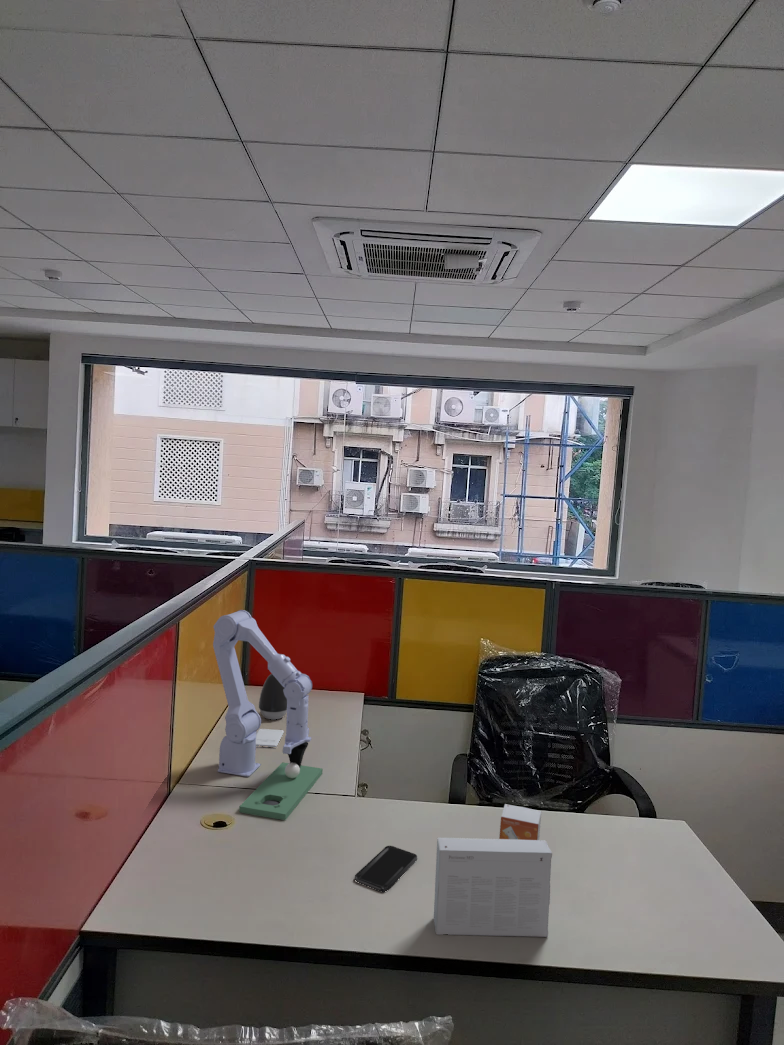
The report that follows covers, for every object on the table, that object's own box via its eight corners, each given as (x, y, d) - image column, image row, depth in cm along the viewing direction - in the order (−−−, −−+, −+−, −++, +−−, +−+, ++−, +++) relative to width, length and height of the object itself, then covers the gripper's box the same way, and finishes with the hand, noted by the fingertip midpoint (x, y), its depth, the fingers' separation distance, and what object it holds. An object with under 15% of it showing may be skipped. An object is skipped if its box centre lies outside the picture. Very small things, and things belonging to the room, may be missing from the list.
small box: (496, 875, 142) (500, 816, 141) (500, 859, 148) (504, 802, 147) (534, 884, 140) (539, 823, 139) (537, 867, 146) (541, 810, 145)
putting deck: (239, 812, 163) (239, 806, 163) (282, 767, 189) (282, 762, 189) (285, 820, 160) (285, 814, 160) (322, 773, 186) (322, 768, 186)
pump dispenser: (290, 722, 224) (291, 677, 223) (258, 722, 222) (260, 678, 221) (288, 711, 234) (290, 669, 233) (257, 712, 232) (259, 669, 231)
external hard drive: (284, 735, 215) (276, 750, 202) (258, 733, 215) (249, 748, 202) (284, 730, 214) (276, 745, 202) (258, 728, 215) (249, 743, 202)
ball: (282, 779, 179) (282, 767, 178) (288, 770, 183) (288, 758, 181) (296, 782, 178) (296, 770, 177) (302, 773, 182) (302, 760, 180)
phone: (352, 877, 138) (388, 844, 151) (352, 882, 138) (387, 849, 151) (385, 890, 134) (419, 855, 147) (385, 895, 134) (419, 860, 147)
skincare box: (541, 919, 129) (546, 839, 128) (548, 938, 123) (554, 855, 122) (432, 915, 128) (436, 835, 127) (434, 935, 122) (439, 851, 121)
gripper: (301, 732, 173) (299, 783, 174) (319, 713, 187) (318, 760, 188) (276, 728, 174) (274, 779, 175) (296, 710, 189) (294, 757, 189)
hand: (295, 769), depth 182 cm, fingers closed, pressing on ball
